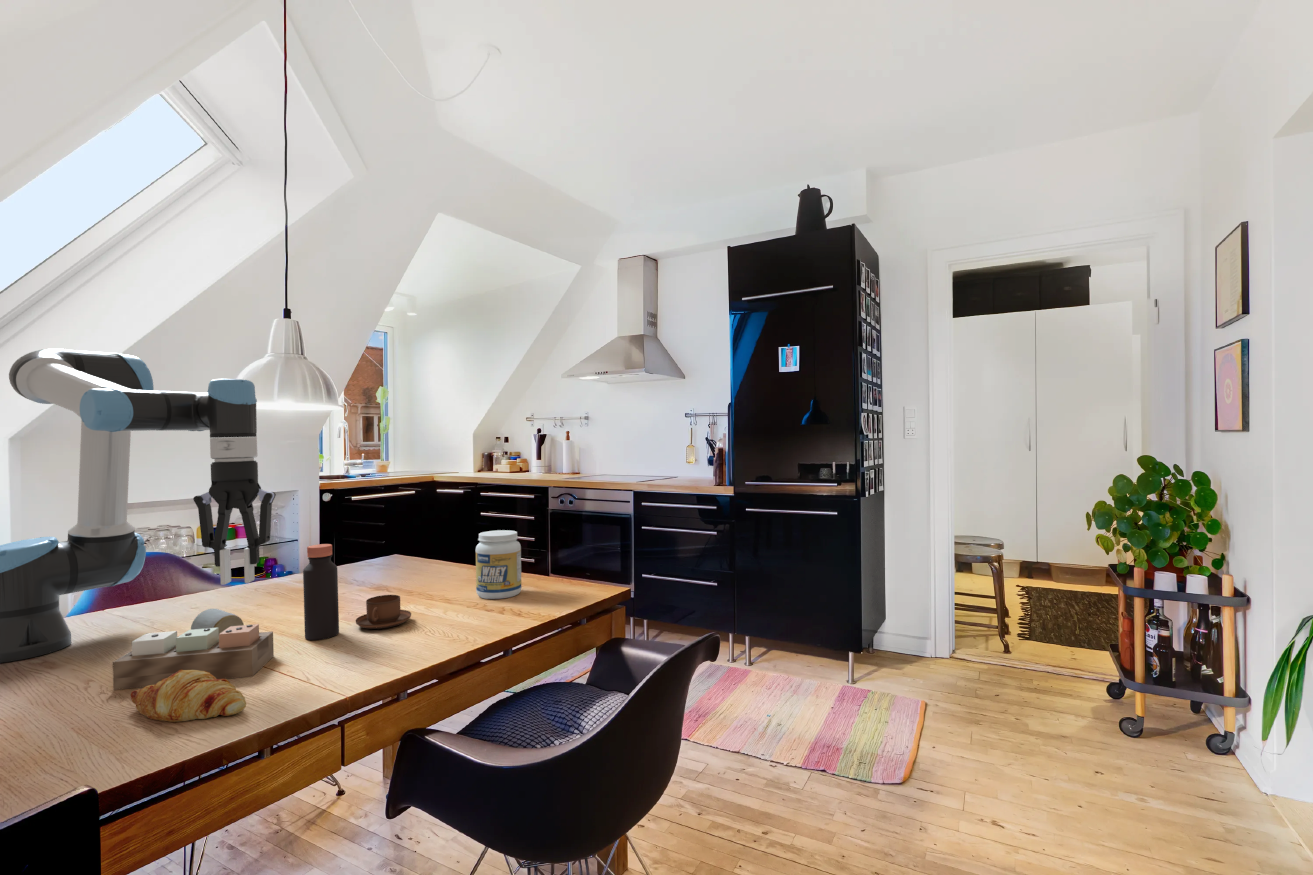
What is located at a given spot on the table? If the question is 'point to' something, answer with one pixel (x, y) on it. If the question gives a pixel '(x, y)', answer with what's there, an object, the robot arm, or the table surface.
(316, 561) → the bottle
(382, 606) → the cup and saucer
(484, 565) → the supplement tub
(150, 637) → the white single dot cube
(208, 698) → the croissant
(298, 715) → the table surface
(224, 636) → the three pip tile
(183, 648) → the two pip tile
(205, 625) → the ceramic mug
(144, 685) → the wooden tile tray
